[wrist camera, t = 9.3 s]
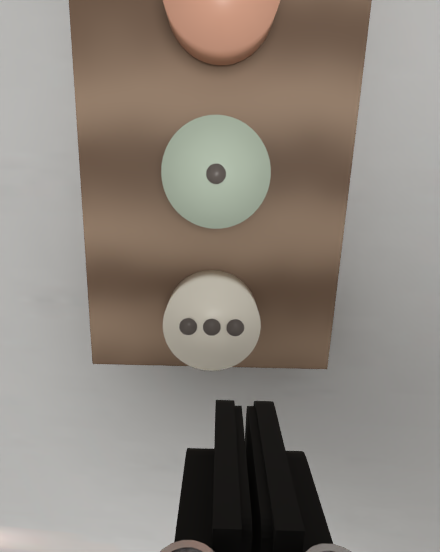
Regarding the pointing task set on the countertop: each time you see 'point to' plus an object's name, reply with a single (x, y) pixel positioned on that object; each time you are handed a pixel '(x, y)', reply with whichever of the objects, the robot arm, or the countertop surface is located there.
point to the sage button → (215, 171)
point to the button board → (149, 188)
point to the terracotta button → (221, 27)
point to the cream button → (211, 321)
